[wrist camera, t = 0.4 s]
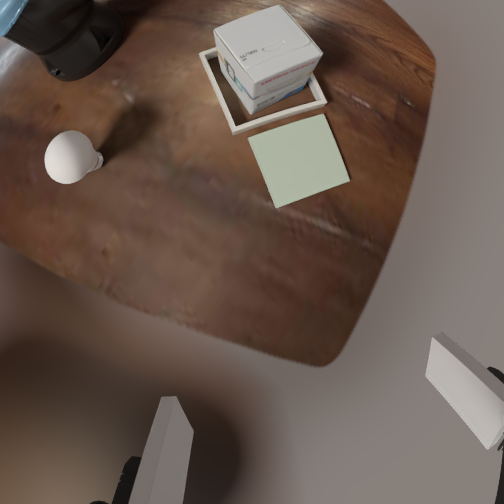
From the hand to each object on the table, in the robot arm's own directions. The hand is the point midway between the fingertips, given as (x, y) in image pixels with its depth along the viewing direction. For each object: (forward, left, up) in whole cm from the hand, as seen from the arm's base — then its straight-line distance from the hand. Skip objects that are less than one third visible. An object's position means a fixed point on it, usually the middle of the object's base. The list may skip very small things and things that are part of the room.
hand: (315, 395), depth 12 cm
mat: (-11, +9, -27) cm, 30 cm away
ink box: (-24, +9, -27) cm, 37 cm away
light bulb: (-23, -17, -27) cm, 39 cm away
